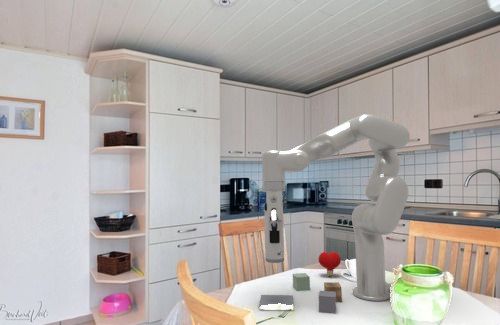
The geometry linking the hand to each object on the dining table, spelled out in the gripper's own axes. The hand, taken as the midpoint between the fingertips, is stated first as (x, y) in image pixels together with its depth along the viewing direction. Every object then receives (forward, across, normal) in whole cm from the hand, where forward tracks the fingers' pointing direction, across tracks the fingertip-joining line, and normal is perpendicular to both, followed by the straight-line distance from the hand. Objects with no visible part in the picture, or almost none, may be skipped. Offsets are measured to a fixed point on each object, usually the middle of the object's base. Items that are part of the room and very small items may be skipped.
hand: (274, 240), depth 107 cm
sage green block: (+21, +16, -9) cm, 28 cm away
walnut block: (+21, +5, -19) cm, 29 cm away
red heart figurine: (+21, +32, -22) cm, 44 cm away
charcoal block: (+21, -4, -16) cm, 27 cm away
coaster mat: (+21, 0, 0) cm, 21 cm away
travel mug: (+7, 0, 0) cm, 7 cm away
